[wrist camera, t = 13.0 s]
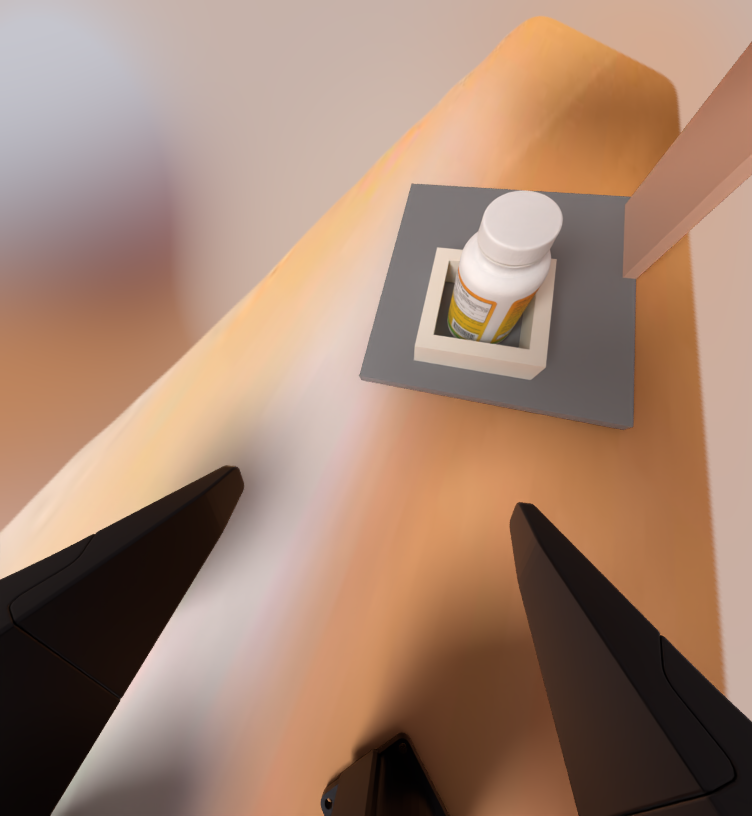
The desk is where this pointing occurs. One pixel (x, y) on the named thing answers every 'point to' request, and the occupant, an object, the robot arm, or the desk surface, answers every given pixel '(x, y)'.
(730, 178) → the awning socket
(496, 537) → the desk surface
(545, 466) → the desk surface
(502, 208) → the supplement bottle
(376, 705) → the desk surface
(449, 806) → the desk surface
